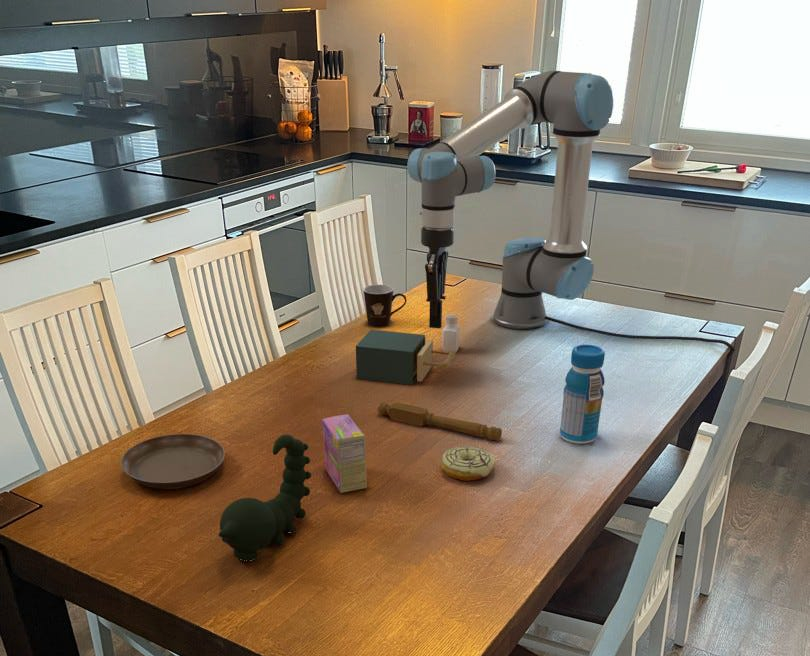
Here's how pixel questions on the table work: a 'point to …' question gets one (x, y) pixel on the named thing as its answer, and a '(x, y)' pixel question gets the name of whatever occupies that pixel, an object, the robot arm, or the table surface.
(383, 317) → the coffee mug
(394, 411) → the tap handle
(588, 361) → the beverage bottle
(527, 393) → the table surface
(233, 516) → the toy figurine
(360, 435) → the box
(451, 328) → the pepper shaker
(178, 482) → the plant saucer
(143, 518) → the table surface
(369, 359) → the cabinet
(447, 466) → the decorated donut
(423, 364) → the drawer
